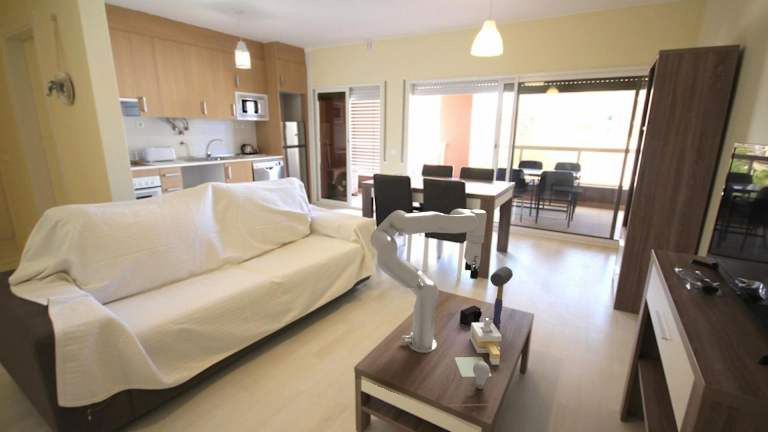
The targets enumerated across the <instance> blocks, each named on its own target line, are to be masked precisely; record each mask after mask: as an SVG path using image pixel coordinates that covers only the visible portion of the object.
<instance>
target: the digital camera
mask: <svg viewBox="0 0 768 432" xmlns="http://www.w3.org/2000/svg"><path fill="white" fill-rule="evenodd" d="M481 310H482V309H481V307H479V306H477V305H472V306H469V307H467V308H464V309H461V310H460V312H459V324H461V325H462V326H465V327H468V326H470V325H471V323H478V322H479V321H480V319H481V317H482V316H483V312H482V311H481Z"/></svg>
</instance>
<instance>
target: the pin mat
mask: <svg viewBox="0 0 768 432" xmlns="http://www.w3.org/2000/svg"><path fill="white" fill-rule="evenodd" d="M454 360H455V363H456V365H457V367H458V370H459V373H460V375H461V377H462V378H466V377H469V378H470V377H471V378H472V377H475V375H474V372H473V366H474V364H475V363H476V362H478V361H483V362H485V360H484V358H483V356H473V357H472V356H470V357H469V356H467V357H465V356H464V357H457V356H456V357H454ZM488 377H492V373H491V372H490V374H489V376H488ZM475 378H476V377H475Z"/></svg>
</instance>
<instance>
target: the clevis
mask: <svg viewBox="0 0 768 432" xmlns="http://www.w3.org/2000/svg"><path fill="white" fill-rule="evenodd" d="M483 326H484V322H475V323H471V326H470V334H469V340H470V341H471V343H472V345H473V347H474V349H475V351H476V353H477V354H489V361H490V364H491V365H493V366H495V365H500V359H501V347H500V343H501V342H502V341H503V340H502V339H503V336H502V334H501V333H500V331H499V330H498V328H497V326H495V325H494V324H493V323H492V324H491V327H490V333H483Z"/></svg>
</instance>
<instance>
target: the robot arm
mask: <svg viewBox="0 0 768 432" xmlns="http://www.w3.org/2000/svg"><path fill="white" fill-rule="evenodd" d="M486 223H487V211H485V210H483V209H476V208H475V209H474V208H473V209H464V208H456V209H453V210H452V211H451V212H450V213H449V214H446V213H445V214H444V213H441V212H438V211H423V212H421V211H420V212H410V213H407V212H406V211H403V210H399V209H397V210H395V211H393V212H391V213H390V214H389V215H388V216H387V217H386V218H385V219H384V220H383V221H382V222H381V223H380V224H379V225H378V226H377V227H376V228H375V229H374V230H373V231H372V233H371V235H370V238H369V239H370V240H369V242H370V245H371V247H373V248H374V250H376V252H377V257H376V259H377V260H376V261H377V265H378V268H379V269H380V271H381V272H383V273H384V274H386V275H387V276H388V277H390V278H391V279H392V280H394V281H395V282H396V283H397V284H398V285H400V287H403V288H405V289H409V290H410V291H411V292H412V293H413V294H414V295H415V302H414V305H413V311H412V313H413V314H412V315H413V316H412V317H413V318H412V332H410V334H408V335H401V340H402V341H404V342H405V343H406V344H407V343H408V347H409V348H410V349H411V350H412V351H414V352H417V353H424V354H425V353H426V354H427V353H431V352H434V351H435V350H436V349H437V346H438V345H437V340H435V337H434V335H435V323H436V310H437V301H438V300H439V299H438V298H439V295H440V294H439V287H438V286H437V284H436V283H435V281H433V280H432V279H431V278H430V277H429V276H428V275H426V274H425V273H424V272H422V271H421V270H420V269H419V268H418V267H416V266H415V265H413V264H412V263H410V262H409V261H407V260H406V259H403V258H400V257H399V256H398V243H397V240H396V239H395V238H394V237H395V236H396V235H397V234H398V233H399V234H401V235H404V236H405V235H408V236H409V235H417V234H424V233H439V234H441V233H442V234H464V233H466V236H465V237H466V238H465V241H466V243H465V248H464V253H463V254H464V255H463V258H464V261H465V264H464V265H465V266H464V270H465V271H470V273H469V275H470V276H469V279H471V280H478V277H479V270H480V269H479V268H480V263H481V257H482V244H483V243H484V240H485V234H486V233H485V232H486V225H487V224H486Z"/></svg>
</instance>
